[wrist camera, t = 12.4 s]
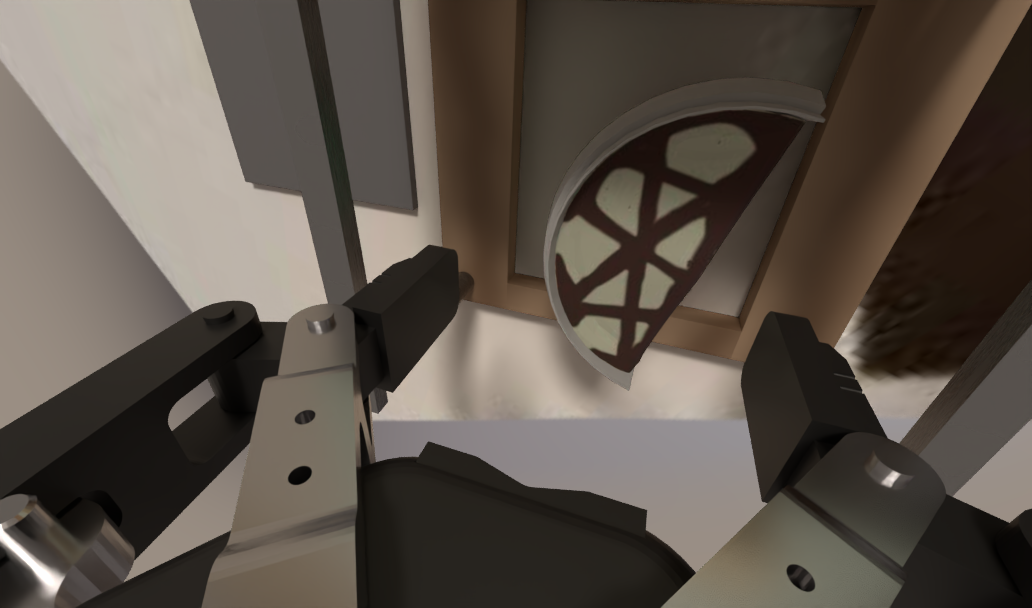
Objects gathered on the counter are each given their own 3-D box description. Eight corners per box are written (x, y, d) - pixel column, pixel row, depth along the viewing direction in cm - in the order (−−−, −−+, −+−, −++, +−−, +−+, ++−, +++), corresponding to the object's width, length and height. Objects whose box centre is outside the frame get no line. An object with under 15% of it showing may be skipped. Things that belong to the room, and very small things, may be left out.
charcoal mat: (393, -69, 21) (386, -71, 20) (417, 207, 28) (413, 210, 28) (178, -66, 24) (168, -68, 24) (252, 179, 32) (245, 181, 31)
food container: (646, 21, 19) (617, 9, 11) (774, 72, 19) (841, 98, 11) (551, 245, 27) (493, 335, 19) (642, 287, 26) (622, 398, 18)
